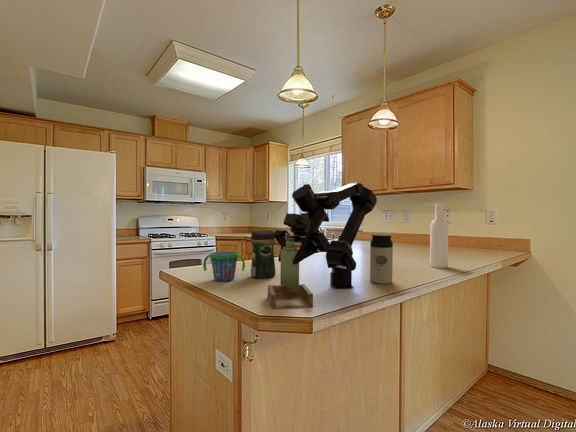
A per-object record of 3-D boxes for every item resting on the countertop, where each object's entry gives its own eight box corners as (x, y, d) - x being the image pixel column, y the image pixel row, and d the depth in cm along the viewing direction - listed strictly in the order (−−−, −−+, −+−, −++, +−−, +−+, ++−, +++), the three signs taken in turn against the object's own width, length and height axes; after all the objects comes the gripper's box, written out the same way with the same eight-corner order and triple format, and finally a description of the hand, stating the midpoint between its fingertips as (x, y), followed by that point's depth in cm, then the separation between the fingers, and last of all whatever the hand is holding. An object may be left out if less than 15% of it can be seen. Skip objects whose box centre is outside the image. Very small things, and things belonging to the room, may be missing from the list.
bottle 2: (425, 266, 152) (426, 204, 151) (437, 264, 155) (438, 204, 155) (440, 268, 144) (441, 203, 144) (451, 267, 148) (452, 204, 147)
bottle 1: (293, 281, 94) (293, 237, 94) (302, 285, 89) (303, 238, 89) (277, 283, 91) (277, 237, 91) (286, 287, 87) (286, 239, 86)
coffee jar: (270, 273, 131) (270, 229, 130) (277, 277, 123) (278, 230, 123) (248, 275, 127) (248, 229, 126) (254, 279, 119) (254, 230, 119)
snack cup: (198, 281, 115) (198, 254, 115) (210, 276, 125) (210, 250, 125) (239, 283, 112) (239, 255, 112) (248, 277, 123) (248, 251, 123)
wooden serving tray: (304, 295, 97) (304, 284, 97) (313, 307, 85) (313, 293, 85) (267, 297, 95) (267, 285, 95) (271, 308, 84) (271, 295, 84)
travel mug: (373, 278, 122) (373, 232, 122) (394, 281, 118) (394, 233, 118) (367, 282, 115) (367, 233, 115) (389, 285, 111) (390, 234, 111)
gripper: (277, 204, 99) (249, 241, 92) (323, 203, 86) (296, 247, 78) (294, 228, 105) (269, 265, 97) (340, 230, 92) (316, 273, 84)
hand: (286, 262), depth 89 cm, fingers closed on bottle 1, 5 cm apart
